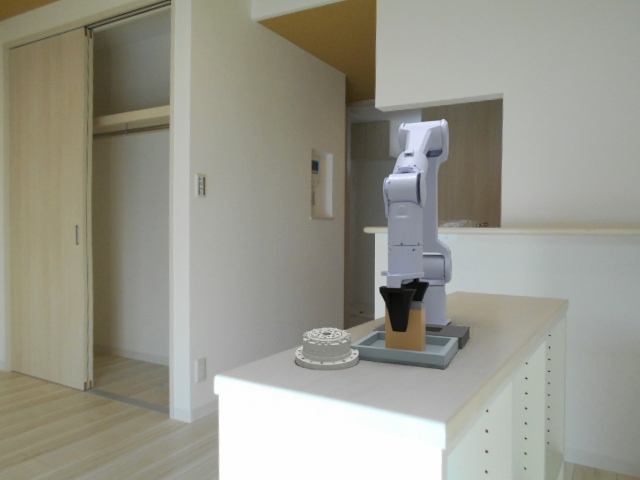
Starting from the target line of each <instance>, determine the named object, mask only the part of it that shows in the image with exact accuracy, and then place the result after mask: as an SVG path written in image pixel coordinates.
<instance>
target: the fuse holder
mask: <svg viewBox="0 0 640 480" xmlns="http://www.w3.org/2000/svg"><path fill="white" fill-rule="evenodd" d="M425 329H426V335H432V336H444V337H456V338H458V350H459V349H460V350H463V348H464V346H466V343H467V342H468V340H469V338H470V336H471V335H470V326H462V325H461V326H460V325H450V324H449V325H448V324H447V325H436V324H425ZM372 330H373V331H372V332H374V331H385V323H383V324H381V325H380V326H378V327H376V328H375V329H372Z"/></svg>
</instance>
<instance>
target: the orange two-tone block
mask: <svg viewBox="0 0 640 480" xmlns="http://www.w3.org/2000/svg"><path fill="white" fill-rule="evenodd" d="M384 309H385V310H384V311H385V312H384V314H385V316H384V317H385V318H384V321H385V322H384V324H385V348H392V349H402V350H411V351H421V352H424V351H425V350H426V329H425V302H420V301H412V302H411V306H410V311H409V320H408V326H407V330H406V332H395V331H393V330H392V327H391V323H390V319H389V314H388V310H387V307H386V304H385V305H384Z"/></svg>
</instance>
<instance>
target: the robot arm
mask: <svg viewBox="0 0 640 480" xmlns="http://www.w3.org/2000/svg"><path fill="white" fill-rule="evenodd" d="M397 131H398V133H397V136H398V137H397V138H398V139H397V140H398V146H399V148H398V149H399V150H400V152H401V153H400V154H399V155H398V157H397V159H396V162H395V164H394V168H393V169H392V170H393V171H392V173H390V174H389V175H388V177H385V178H384V180H383V185H382V195H383V202H384V211H385V213H384V214H385V218H387V270H382V271H381V272H380V275H381V276H382V277H383V276H385V277H386V285H381V286H379V288H378V291H379V295H380V296H381V297H382V299H383V301H384V303H385V304H386V307H387V310H388V314H389V319H390V323H391V327H392V330H393V331H395V332H406V330H407V326H408V320H409V311H410V306H411V302H412V301H420V302H425V324H436V325H448V324H449V323H450V322H451V318H447V291H446V284H449V283H450V282H451V281H452V277H453V276H452V275H453V263H452V261H453V259H452V250H451V249H450V247H449V246H448V244H445V243H444V242H442V240H440V239H439V223H438V222H439V215H438V213H439V209H438V208H439V207H438V206H439V204H438V202H439V201H438V198H439V195H438V193H439V191H438V186H439V185H438V176H439V175H438V174H439V169H440V165H441V164H443V163H445V162H447V161H448V156H449V155H450V154H449V153H450V151H449V150H450V149H449V148H450V147H449V144H450V137H449V135H450V133H449V132H450V131H449V123H448V121H447V120H446V119H444V118H442V119H441V120H430V121H419V122H411V123H410V122H409V123H405V122H402V123H401V124H400V126H399V127H398V130H397ZM424 253H427V254H424ZM428 253H429V254H428ZM432 253H433V254H432ZM435 253H436V254H435Z"/></svg>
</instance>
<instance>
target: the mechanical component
mask: <svg viewBox="0 0 640 480" xmlns="http://www.w3.org/2000/svg"><path fill="white" fill-rule="evenodd" d="M351 339H352V337H351V333H348V332H347V330H346V329H343V330H342V329H339V328H338V327H322V328H313V329H312V330H310V331H308V330H307V331H305V332H304V333H303V335H302V346H300V347H298V348H297V349H296V350H295V352H294V353H295V354H294V355H295V358H294V359H295V362H296V364H297V365H298V366H299V365H300V367H301V366H302V368H304V367H305V369H308V368H310V369H309V370H315V369H316V371H337V370H343V369H349V368H352V367H354V366H356V365H357V364H358V362H359V360H360V359H359V352H358V350H355V349H351V344H352V343H351Z"/></svg>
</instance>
